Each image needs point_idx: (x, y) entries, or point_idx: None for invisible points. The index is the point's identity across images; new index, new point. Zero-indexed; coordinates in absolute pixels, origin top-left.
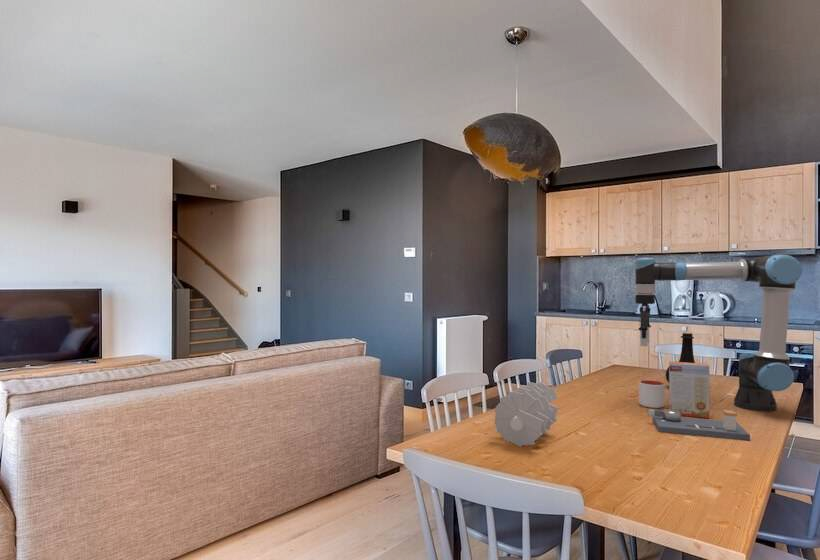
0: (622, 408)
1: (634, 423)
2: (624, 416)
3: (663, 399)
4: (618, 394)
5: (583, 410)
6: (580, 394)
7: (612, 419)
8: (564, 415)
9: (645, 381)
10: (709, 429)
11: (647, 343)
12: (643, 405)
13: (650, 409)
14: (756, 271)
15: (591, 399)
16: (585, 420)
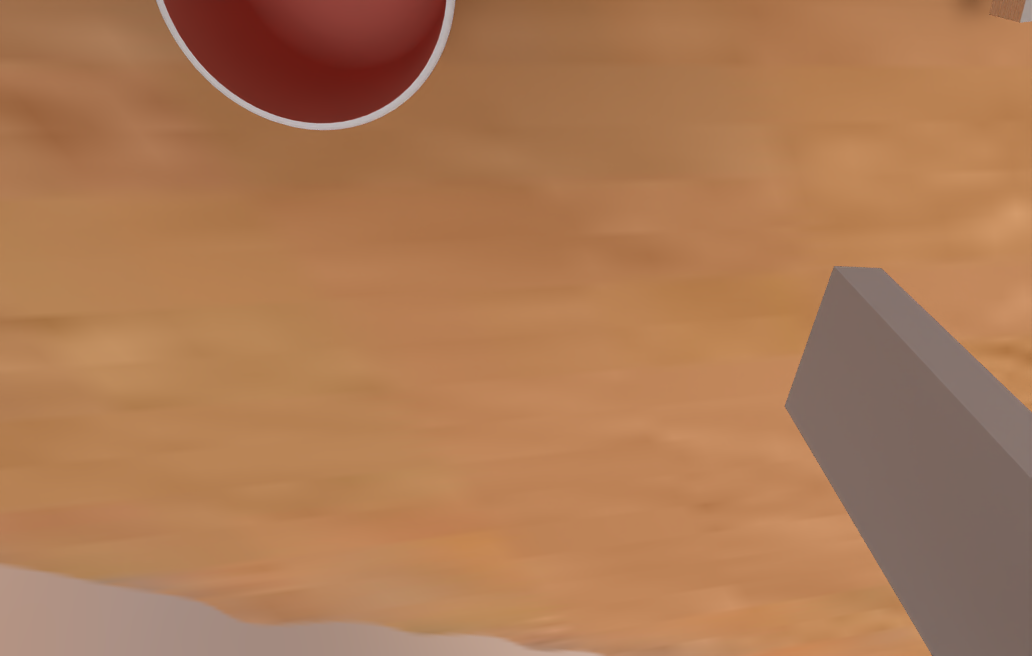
0: (565, 191)
1: (987, 102)
2: (805, 171)
3: None
4: (62, 238)
5: (716, 401)
6: (267, 460)
7: (902, 239)
8: None
9: (200, 55)
10: None
11: (925, 311)
12: (425, 33)
13: (1027, 1)
14: None
15: (383, 391)
16: None
